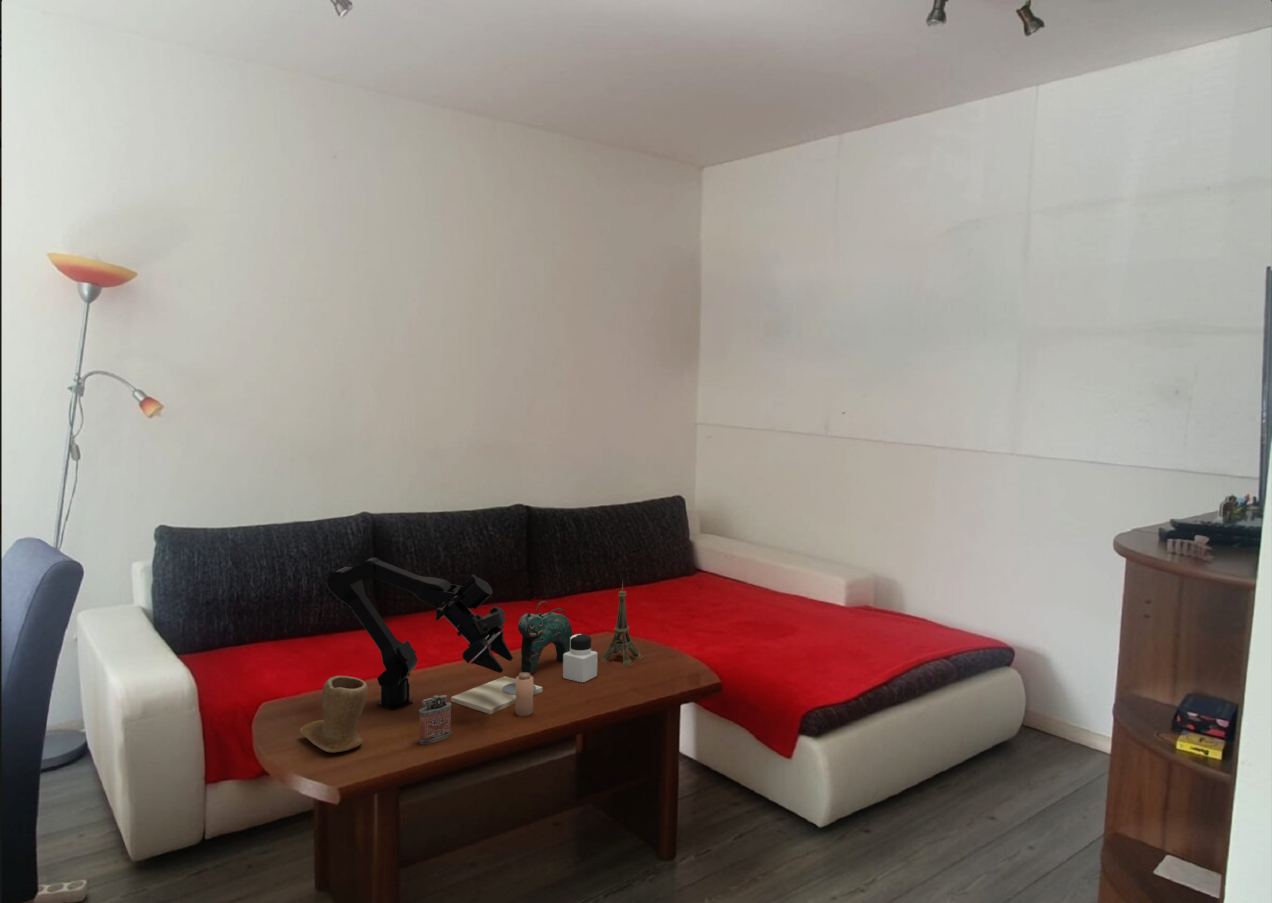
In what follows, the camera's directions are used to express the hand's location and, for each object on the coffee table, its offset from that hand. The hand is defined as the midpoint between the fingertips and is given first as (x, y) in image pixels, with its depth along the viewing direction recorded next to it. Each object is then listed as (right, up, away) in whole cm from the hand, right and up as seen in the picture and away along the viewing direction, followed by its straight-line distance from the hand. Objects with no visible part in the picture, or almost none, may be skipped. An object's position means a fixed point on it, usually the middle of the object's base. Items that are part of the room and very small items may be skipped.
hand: (506, 665), depth 213 cm
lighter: (-14, -13, -16) cm, 25 cm away
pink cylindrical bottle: (+4, -12, 0) cm, 13 cm away
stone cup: (-36, -13, -19) cm, 43 cm away
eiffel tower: (+28, -9, +44) cm, 53 cm away
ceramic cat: (+6, -9, +36) cm, 37 cm away
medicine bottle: (+17, -10, +27) cm, 33 cm away
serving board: (-4, -11, +11) cm, 16 cm away
